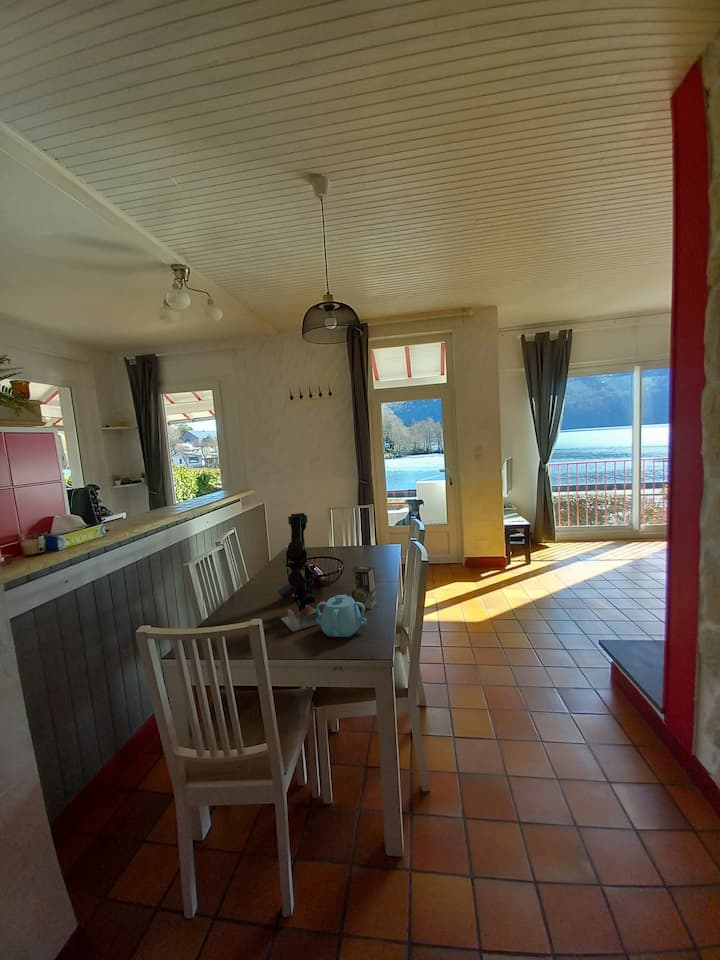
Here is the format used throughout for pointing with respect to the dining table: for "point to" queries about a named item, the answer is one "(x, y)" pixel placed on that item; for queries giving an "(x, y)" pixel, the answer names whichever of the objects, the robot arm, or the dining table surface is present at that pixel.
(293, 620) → the channel
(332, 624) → the decorative pot
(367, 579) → the coffee box
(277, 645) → the dining table surface
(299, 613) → the lock block
